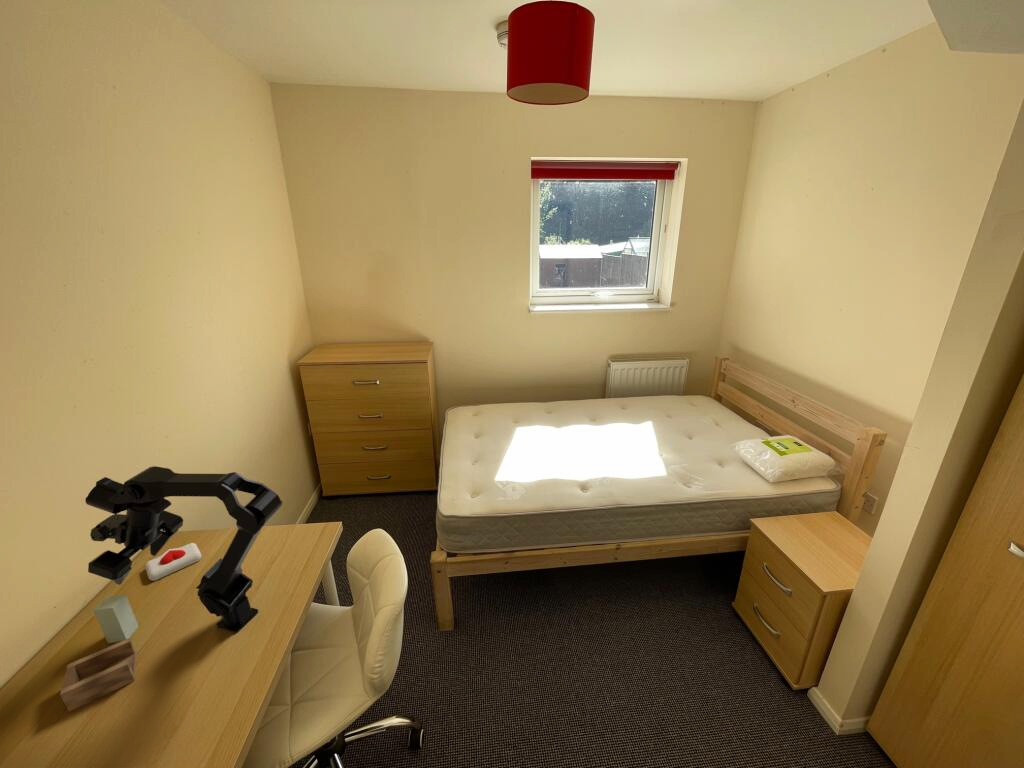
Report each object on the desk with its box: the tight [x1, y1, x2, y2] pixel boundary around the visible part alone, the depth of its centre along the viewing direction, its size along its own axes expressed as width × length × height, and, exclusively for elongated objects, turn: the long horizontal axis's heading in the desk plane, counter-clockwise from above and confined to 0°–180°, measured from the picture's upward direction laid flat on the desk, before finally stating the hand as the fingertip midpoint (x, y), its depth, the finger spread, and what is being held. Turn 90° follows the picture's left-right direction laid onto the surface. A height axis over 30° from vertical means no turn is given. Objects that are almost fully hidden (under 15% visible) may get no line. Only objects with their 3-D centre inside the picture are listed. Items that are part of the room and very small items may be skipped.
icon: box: [144, 542, 202, 582], centre depth 122 cm, size 12×4×10 cm
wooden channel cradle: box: [59, 638, 137, 713], centre depth 89 cm, size 10×8×5 cm
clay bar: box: [92, 593, 139, 644], centre depth 99 cm, size 4×4×10 cm
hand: (136, 568), depth 100 cm, fingers open, 9 cm apart
